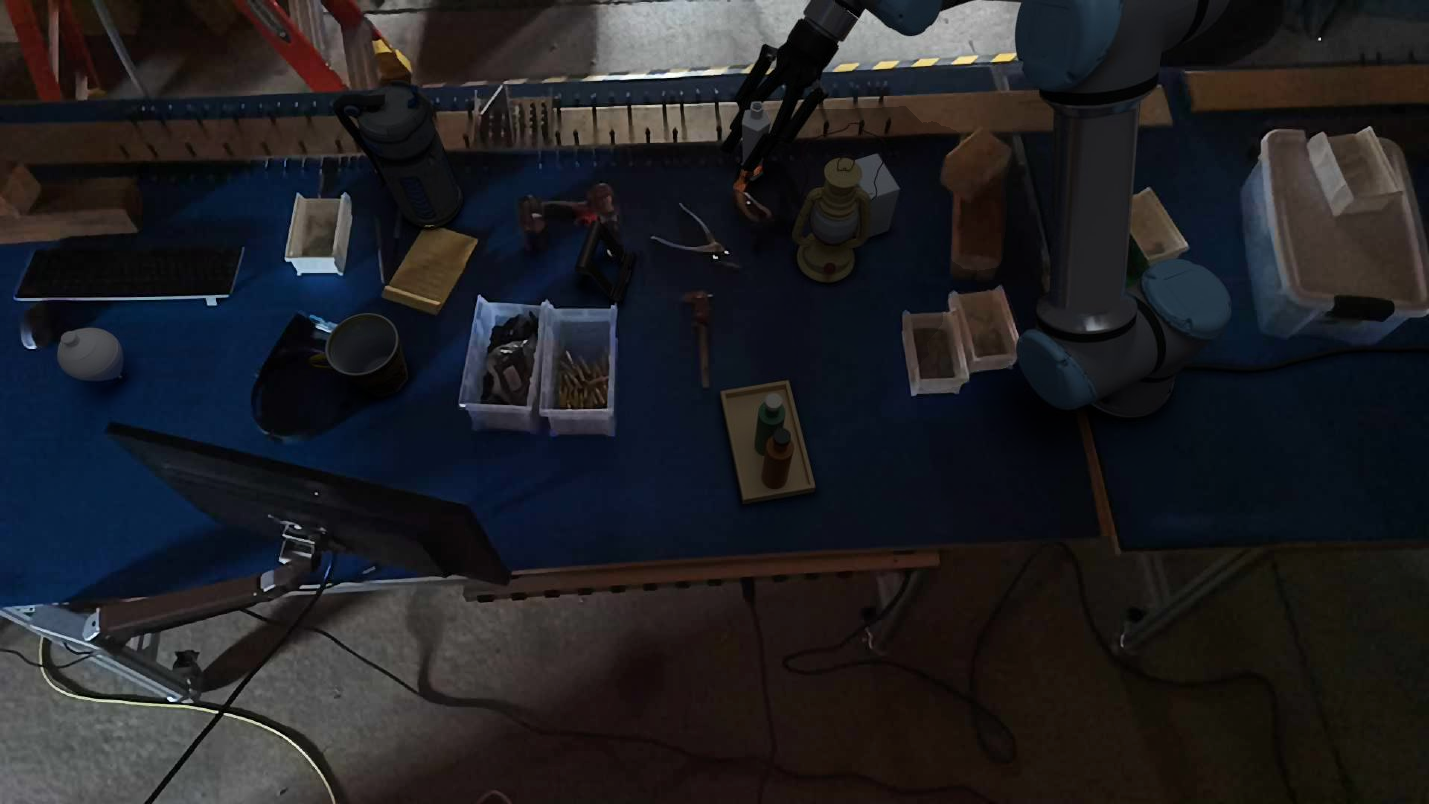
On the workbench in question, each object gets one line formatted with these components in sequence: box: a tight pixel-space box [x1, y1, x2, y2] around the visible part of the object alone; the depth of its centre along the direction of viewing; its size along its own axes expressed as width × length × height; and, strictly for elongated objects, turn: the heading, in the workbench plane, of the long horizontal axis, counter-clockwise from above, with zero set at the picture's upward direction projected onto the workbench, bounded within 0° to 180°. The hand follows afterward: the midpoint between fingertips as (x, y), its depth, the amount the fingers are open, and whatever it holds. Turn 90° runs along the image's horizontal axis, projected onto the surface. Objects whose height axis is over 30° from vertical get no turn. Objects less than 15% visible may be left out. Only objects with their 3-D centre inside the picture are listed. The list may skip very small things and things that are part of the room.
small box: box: [854, 153, 901, 238], centre depth 137 cm, size 8×6×10 cm
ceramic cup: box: [308, 312, 409, 398], centre depth 124 cm, size 13×10×10 cm
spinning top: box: [56, 327, 124, 382], centre depth 123 cm, size 8×8×12 cm
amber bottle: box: [762, 428, 794, 489], centre depth 115 cm, size 4×4×14 cm
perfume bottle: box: [739, 102, 772, 182], centre depth 139 cm, size 5×4×15 cm
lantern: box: [791, 121, 887, 283], centre depth 125 cm, size 12×10×30 cm
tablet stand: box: [574, 220, 637, 304], centre depth 133 cm, size 9×8×8 cm
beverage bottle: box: [332, 79, 464, 228], centre depth 131 cm, size 10×13×25 cm
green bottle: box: [754, 393, 786, 456], centre depth 117 cm, size 4×4×14 cm
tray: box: [719, 379, 816, 505], centre depth 123 cm, size 10×17×2 cm, turn 11°
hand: (736, 160), depth 140 cm, fingers closed on perfume bottle, 4 cm apart
